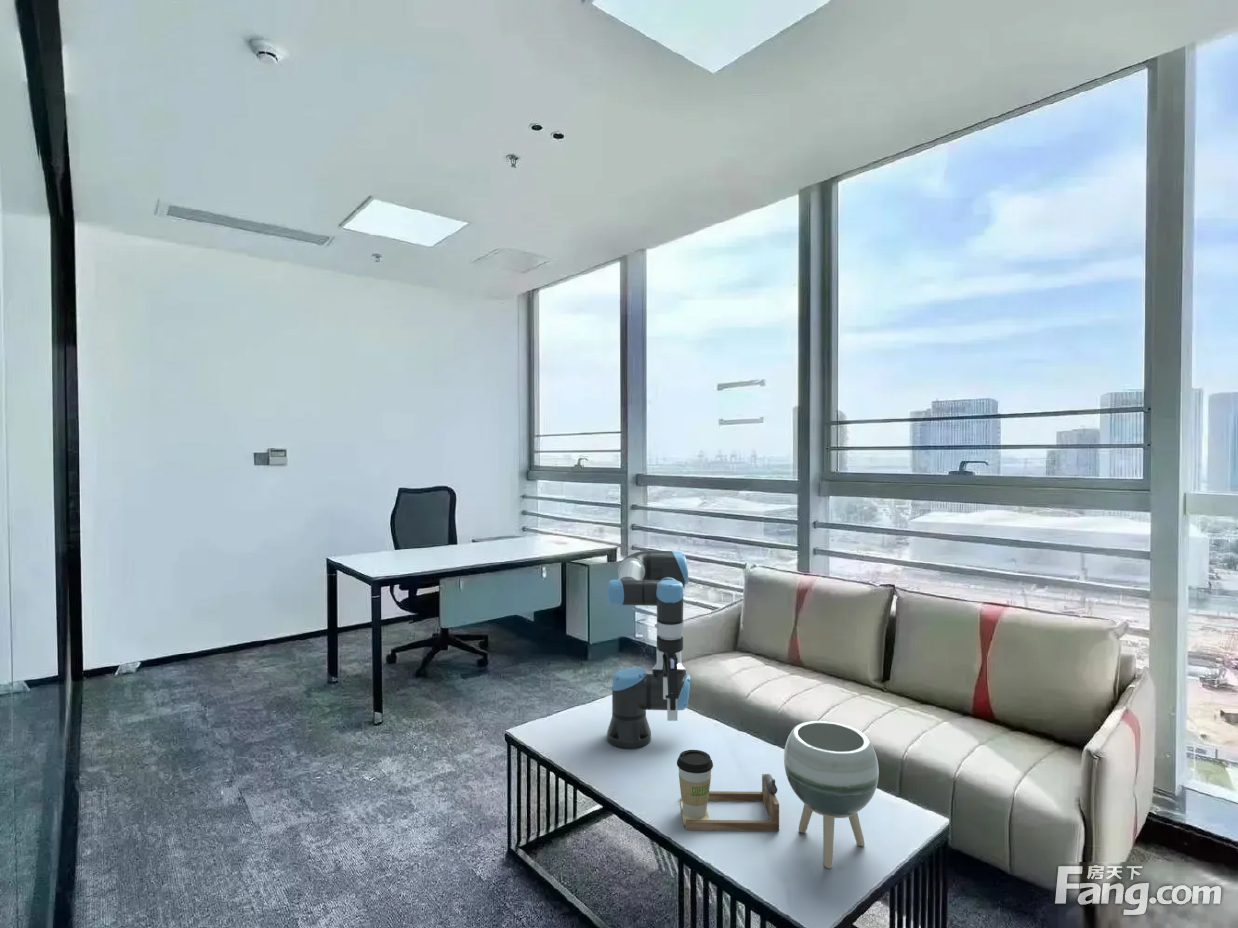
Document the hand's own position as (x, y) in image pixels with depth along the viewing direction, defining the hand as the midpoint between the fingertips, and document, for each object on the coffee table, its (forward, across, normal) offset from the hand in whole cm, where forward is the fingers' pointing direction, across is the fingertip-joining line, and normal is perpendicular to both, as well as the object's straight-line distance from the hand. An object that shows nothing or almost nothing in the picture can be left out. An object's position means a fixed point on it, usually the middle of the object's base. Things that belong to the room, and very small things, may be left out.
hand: (670, 709), depth 176 cm
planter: (+24, +25, +37) cm, 51 cm away
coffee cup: (+24, +10, +6) cm, 27 cm away
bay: (+25, +10, +15) cm, 30 cm away
